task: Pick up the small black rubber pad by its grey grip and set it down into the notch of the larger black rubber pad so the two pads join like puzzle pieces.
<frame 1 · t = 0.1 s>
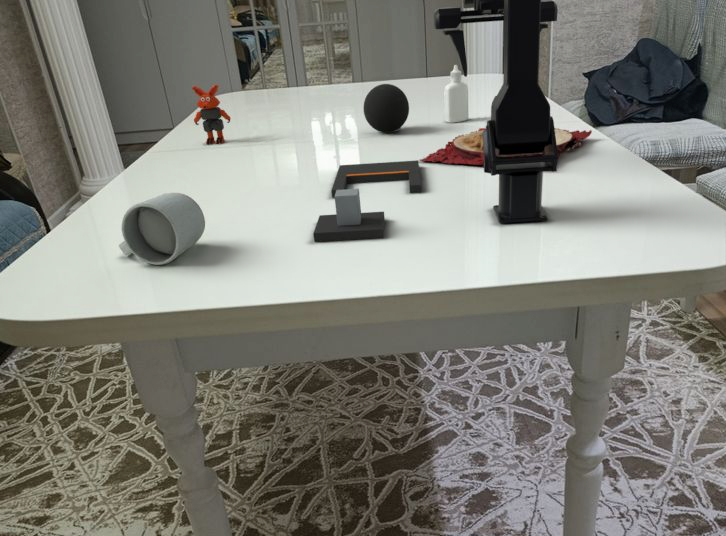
hand: (493, 74, 104), 15 cm above the table, tool pointing down, fingers open, 9 cm apart
ceramic mug: (163, 255, 82), on the table
toy animal: (215, 144, 143), on the table
dark grey ball: (388, 133, 142), on the table
loose pad: (350, 230, 86), on the table
plate with food: (507, 151, 120), on the table
eye dropper bottle: (456, 121, 149), on the table
dock pad: (378, 181, 106), on the table
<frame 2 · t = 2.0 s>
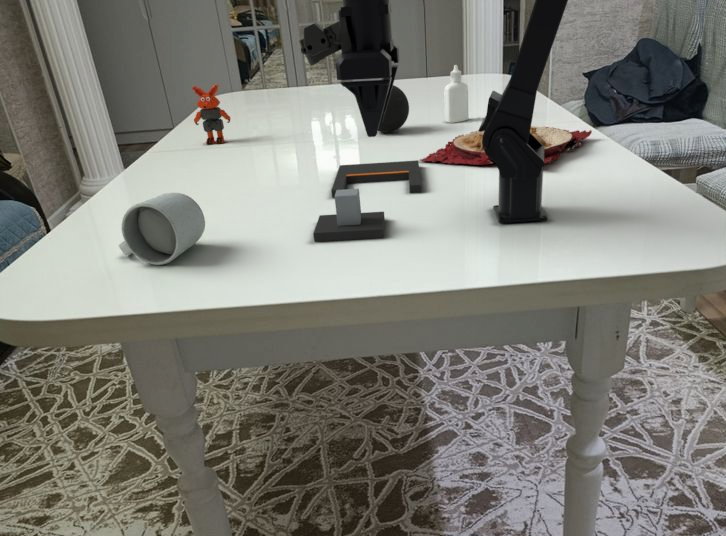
hand: (375, 129, 85), 12 cm above the table, tool pointing down, fingers open, 9 cm apart
nothing on the table moved.
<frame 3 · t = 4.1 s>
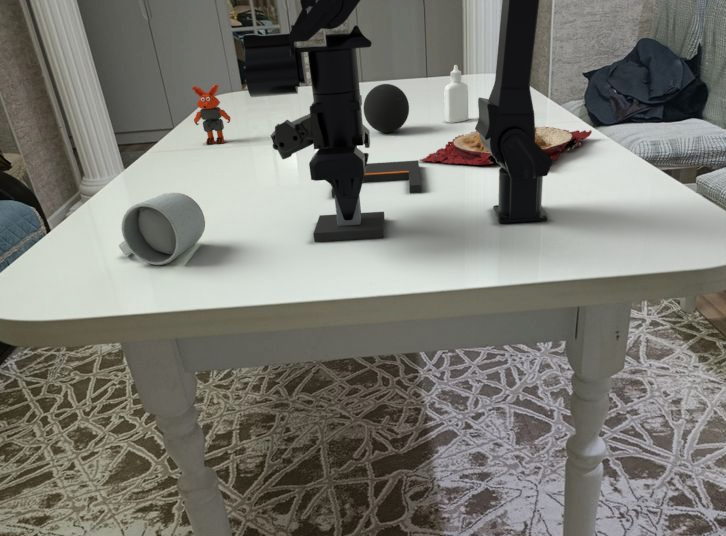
hand: (349, 215, 85), 2 cm above the table, tool pointing down, fingers closed on loose pad, 3 cm apart
loose pad: (350, 230, 86), on the table, touching gripper
everything else where it was.
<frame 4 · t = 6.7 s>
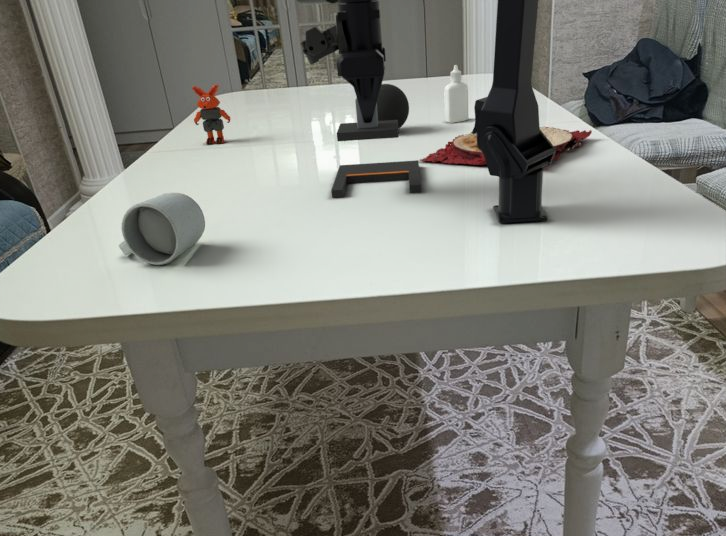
hand: (368, 120, 95), 11 cm above the table, tool pointing down, fingers closed on loose pad, 3 cm apart
loose pad: (368, 134, 96), point 9 cm above the table, touching gripper
everything else where it was.
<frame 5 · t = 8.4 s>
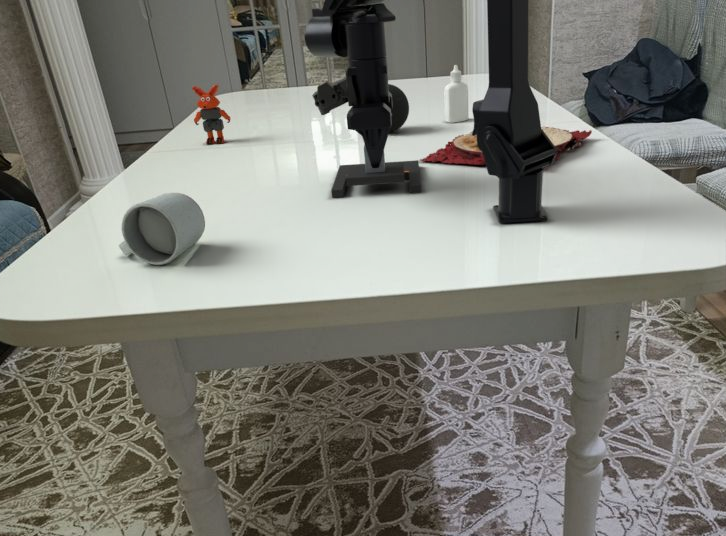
hand: (375, 165, 101), 4 cm above the table, tool pointing down, fingers closed on loose pad, 3 cm apart
loose pad: (376, 177, 102), point 2 cm above the table, touching gripper
everything else where it was.
when the fingers open (2 cm above the table, at t = 9.2 s): loose pad stays where it is, on the table.
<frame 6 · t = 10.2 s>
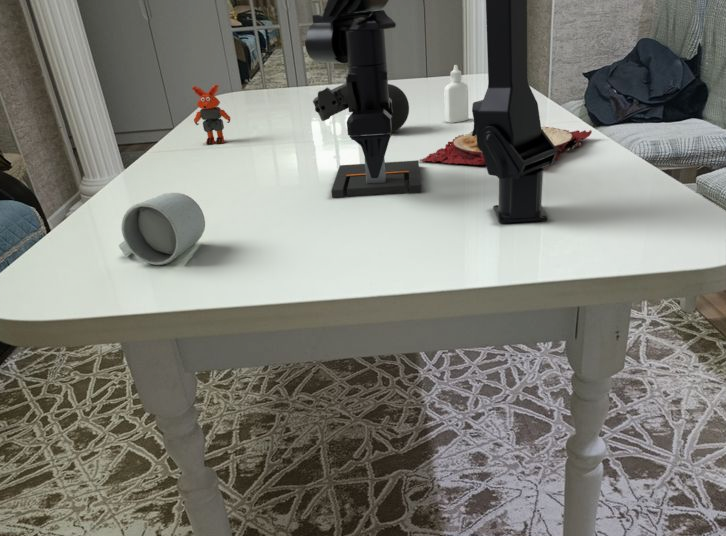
hand: (375, 170, 102), 3 cm above the table, tool pointing down, fingers open, 9 cm apart
loose pad: (377, 188, 103), on the table
everything else where it was.
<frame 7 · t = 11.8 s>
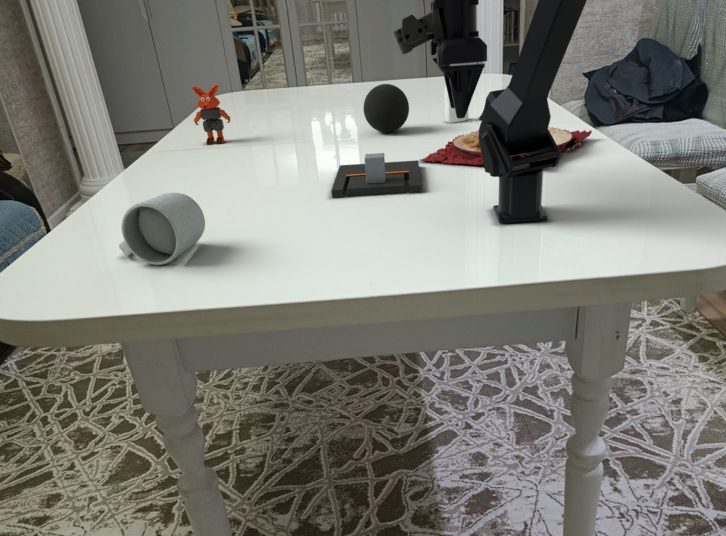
hand: (457, 112, 92), 12 cm above the table, tool pointing down, fingers open, 9 cm apart
nothing on the table moved.
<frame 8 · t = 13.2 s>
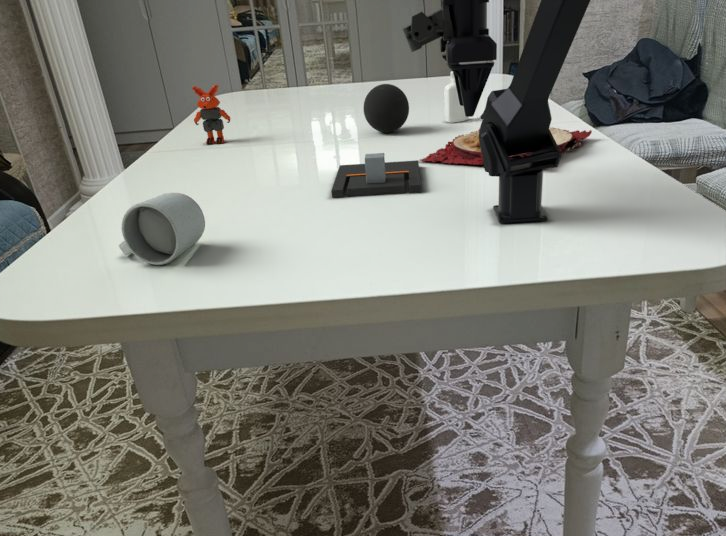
hand: (466, 110, 91), 12 cm above the table, tool pointing down, fingers open, 9 cm apart
nothing on the table moved.
at the end: loose pad 0.1 cm from the target spot on the dock pad, point 0.0 cm above the dock pad's base; loose pad tilted 0°; the gripper is holding nothing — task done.
